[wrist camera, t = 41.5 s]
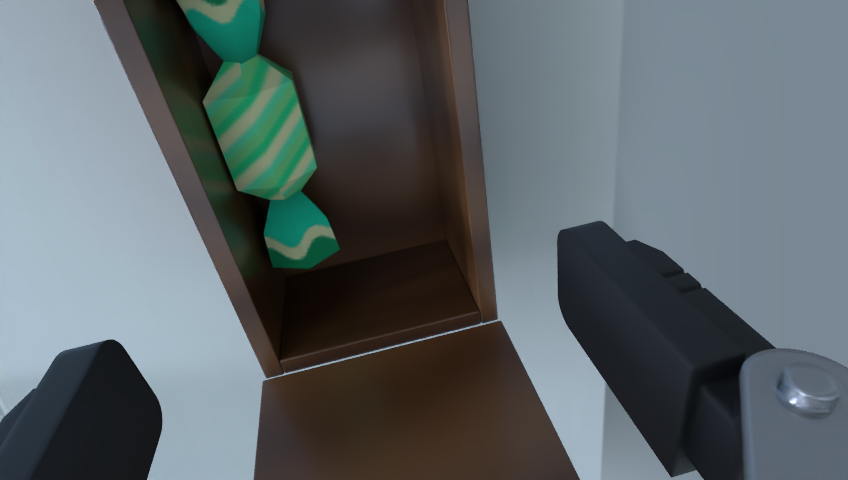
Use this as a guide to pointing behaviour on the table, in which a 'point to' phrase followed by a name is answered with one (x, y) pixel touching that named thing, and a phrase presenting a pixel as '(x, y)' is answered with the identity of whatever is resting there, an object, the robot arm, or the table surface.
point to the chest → (335, 170)
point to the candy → (262, 130)
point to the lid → (412, 416)
